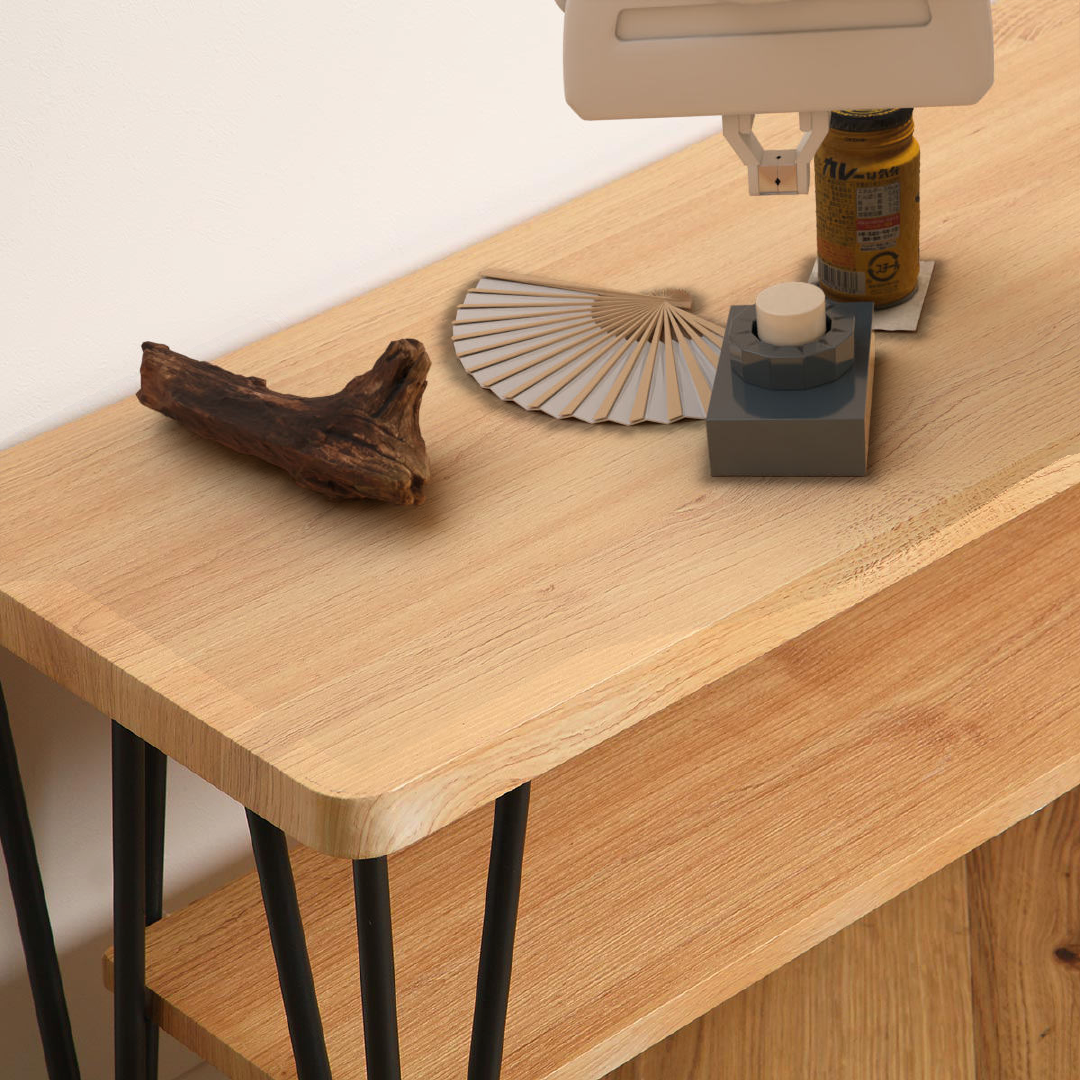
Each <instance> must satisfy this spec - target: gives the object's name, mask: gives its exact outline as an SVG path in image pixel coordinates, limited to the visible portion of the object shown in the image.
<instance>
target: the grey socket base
mask: <svg viewBox="0 0 1080 1080" xmlns="http://www.w3.org/2000/svg"><path fill="white" fill-rule="evenodd" d="M825 306H826V333H825V335H824V336H823V337H822V338H820V339H819V340H816V341H813V342H810V343H806V344H803V345H800V346H776V345H773V344H769V343H766V342H762V341H761V340H760V339H759V337H758V334H757V319H756V304H755V303H753V304H731V305H730V306H729V311H728V316H727V320H726V325H725V333H724V338H723V342H722V347H721V352H720V356H719V361H718V365H717V370H716V375H715V379H714V384H713V388H712V393H711V397H710V402H709V407H708V411H707V416H706V419H705V429H706V440H707V441H706V443H707V451H708V462H709V473H710V476H712V477H718V476H719V477H720V476H721V477H723V476H724V477H730V476H731V477H732V476H733V477H741V476H742V477H753V476H754V477H857V476H858V477H865V476H867V465H868V454H869V453H868V452H869V441H870V440H869V438H870V429H871V428H870V426H871V413H872V412H871V411H872V399H873V385H874V372H875V360H876V359H875V358H876V343H875V342H876V341H875V339H876V337H875V336H876V335H875V329H874V302H846V303H839V302H836V301H832V300H828V299H825Z"/></svg>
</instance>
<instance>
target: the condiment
mask: <svg viewBox="0 0 1080 1080" xmlns="http://www.w3.org/2000/svg"><path fill="white" fill-rule="evenodd" d="M914 110H915V108H892V109H867V110H843V111H831V119H830V126H829V132H828V133H827V135H826V137H825V138H824V140H823V142H822V143H821V145H820V147H819V148H818V150H817V152H816V153H815V155H814V157H813V167H814V168H813V169H814V194H815V195H814V196H815V219H816V221H815V222H816V225H815V228H816V259H815V262H814V265H813V266H812V270H811V273H810V275H809V277H808V281H807V283H809V284H813V285H815V286H817V287H819V288H820V289H821V290H822V291H823V292H824V294H825V299H828V300H832V301H836V302H839V303H846V302H874V330H884V331H916V330H917V326H918V322H919V320H920V315H921V312H922V308H923V305H924V302H925V299H926V298H925V297H926V295H927V293H928V289H929V284H930V281H931V279H932V274H933V271H934V266H935V262H936V261H935V260H929V261H927V260H920V253H921V252H920V251H921V249H920V233H921V231H920V230H921V223H920V222H921V210H920V209H921V197H920V195H921V192H920V190H921V189H920V188H921V185H920V184H921V182H920V181H921V177H920V175H921V164H922V163H921V147H920V143H919V141H918V140H917V139H916V137H915V136H914V132H915V125H916V124H915V121H914V114H913V112H914Z"/></svg>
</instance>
